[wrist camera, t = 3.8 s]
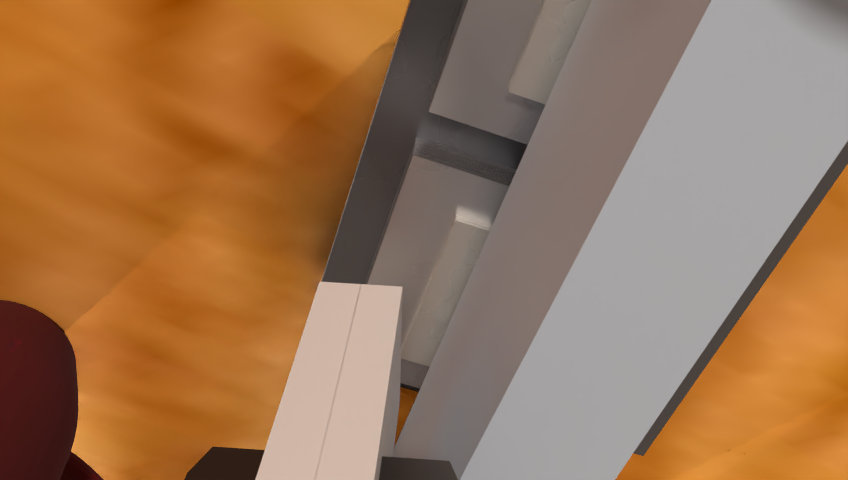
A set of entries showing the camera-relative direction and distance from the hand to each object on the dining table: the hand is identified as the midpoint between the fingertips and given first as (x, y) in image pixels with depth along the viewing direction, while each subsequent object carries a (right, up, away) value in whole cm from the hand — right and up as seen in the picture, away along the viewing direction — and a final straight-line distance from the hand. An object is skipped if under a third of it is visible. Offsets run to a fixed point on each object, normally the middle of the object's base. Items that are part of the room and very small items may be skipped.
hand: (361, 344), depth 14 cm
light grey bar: (+3, +1, +2) cm, 4 cm away
